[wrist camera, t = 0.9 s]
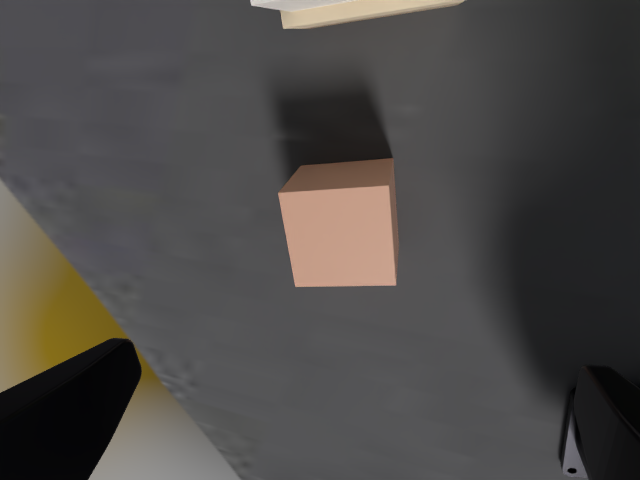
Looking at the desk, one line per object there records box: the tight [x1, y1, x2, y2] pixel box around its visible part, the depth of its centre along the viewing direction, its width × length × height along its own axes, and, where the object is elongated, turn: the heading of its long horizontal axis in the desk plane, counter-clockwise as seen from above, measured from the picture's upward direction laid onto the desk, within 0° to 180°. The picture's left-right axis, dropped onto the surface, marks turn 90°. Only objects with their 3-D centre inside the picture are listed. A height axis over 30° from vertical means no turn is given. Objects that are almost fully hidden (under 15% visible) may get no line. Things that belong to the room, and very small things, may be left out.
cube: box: [278, 158, 399, 287], centre depth 19 cm, size 4×4×4 cm
